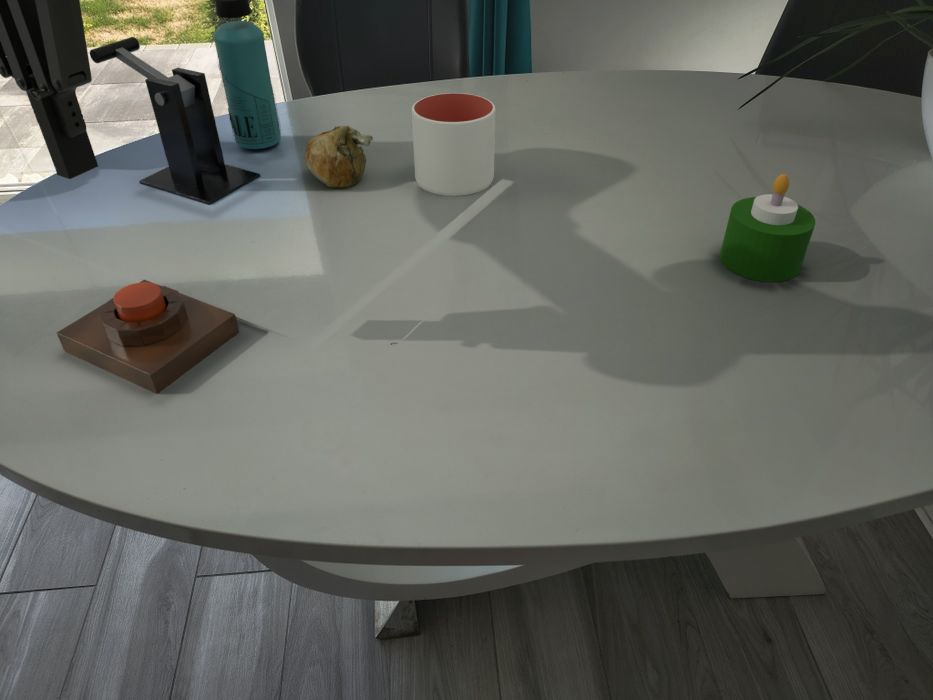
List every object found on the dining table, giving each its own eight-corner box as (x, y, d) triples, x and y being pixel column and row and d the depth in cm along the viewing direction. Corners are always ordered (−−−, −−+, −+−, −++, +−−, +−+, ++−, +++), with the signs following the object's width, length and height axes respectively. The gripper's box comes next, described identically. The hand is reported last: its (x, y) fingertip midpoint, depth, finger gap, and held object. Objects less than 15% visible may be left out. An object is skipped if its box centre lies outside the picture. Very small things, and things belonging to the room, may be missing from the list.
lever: (90, 62, 86) (88, 43, 85) (130, 49, 90) (130, 30, 89) (168, 114, 85) (168, 96, 83) (206, 98, 89) (207, 81, 87)
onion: (352, 165, 98) (346, 106, 93) (380, 188, 93) (375, 127, 88) (299, 179, 95) (290, 119, 90) (324, 203, 90) (316, 140, 85)
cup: (444, 210, 88) (442, 129, 82) (400, 180, 94) (395, 104, 88) (509, 188, 93) (512, 110, 86) (463, 161, 99) (462, 87, 93)
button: (109, 315, 65) (103, 299, 64) (144, 293, 68) (139, 277, 67) (140, 328, 64) (134, 312, 63) (175, 305, 66) (170, 289, 65)
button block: (64, 351, 67) (48, 316, 64) (150, 297, 74) (139, 263, 71) (157, 394, 62) (144, 358, 60) (239, 332, 69) (231, 297, 67)
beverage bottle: (287, 140, 105) (262, -12, 92) (280, 159, 100) (253, 1, 87) (240, 141, 104) (209, -11, 92) (232, 161, 99) (197, 2, 87)
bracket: (141, 189, 93) (107, 79, 84) (194, 163, 99) (168, 57, 90) (211, 211, 88) (183, 97, 79) (262, 182, 94) (241, 73, 86)
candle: (785, 290, 74) (814, 201, 68) (707, 264, 78) (728, 178, 72) (810, 257, 79) (839, 170, 73) (736, 234, 83) (758, 150, 77)
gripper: (-176, -195, 44) (-16, 170, 59) (-45, -186, 39) (94, 209, 54) (-55, -199, 49) (64, 137, 64) (75, -193, 44) (171, 170, 59)
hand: (78, 170), depth 59 cm, fingers closed
